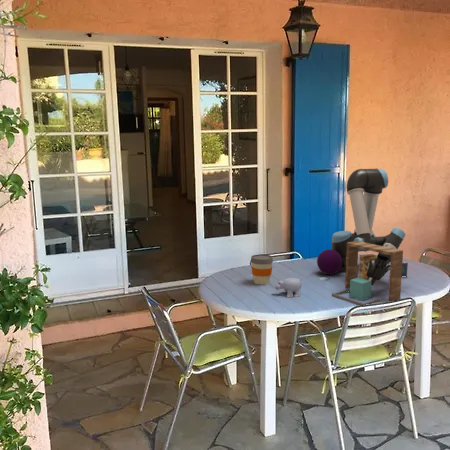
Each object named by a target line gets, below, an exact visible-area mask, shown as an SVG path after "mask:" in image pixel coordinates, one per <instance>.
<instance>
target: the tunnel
mask: <svg viewBox="0 0 450 450" xmlns="http://www.w3.org/2000/svg"><path fill="white" fill-rule="evenodd" d="M358 248H360V249H365V250H369V252H370V251H371V252H375V253H377V254H378V253H383V254H387V255H391V262H390V263H389V265H390V270H389V281H388V282H389V285H388V299H387V300H388V302H389V301H392V302H394V301H393V300H395V301H398V300H400V299H401V294H402V293H401V289H402V278H401V277H402V262H404V261H403V259H404V256H403V255H404V250H403V249H399V248H398V249H393V248H389V247H384V246H379V245H374V244H370V243H365V242H360V241H353V242H348V243H347V254H346V272H345V285H344V288H345V289H350V280H351V279H355V278H358V267H359V265H358V263H359V261H358V260H359V252H358ZM397 299H398V300H397Z"/></svg>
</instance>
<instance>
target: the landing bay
mask: <svg viewBox="0 0 450 450" xmlns="http://www.w3.org/2000/svg"><path fill="white" fill-rule="evenodd" d="M348 291H350V288H345V289H343V290H339V291H336V292H333V293H331V296H332V297H333V298H336V299H340V300H343V301H346V302H349V303H352V304H355V305H357V306H360V305H366V304H370V305H372V303H373V304H376V303H378V302H380V301H381V298H379V297H377V298H375V299H372V300H368V301H366V302H361V301H358V300H355V299H352V298H348V297H346V296H342V295H343V294H346V293H349V292H348ZM339 294H340V295H339Z"/></svg>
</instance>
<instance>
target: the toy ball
mask: <svg viewBox="0 0 450 450" xmlns="http://www.w3.org/2000/svg"><path fill="white" fill-rule="evenodd" d="M316 265H317V267H318V269H319V270H320V271H321V272H322V273H324V274H326V275H334V274H337V273H338V271H339V270H340V268H341V267H342V258H341V256H340V254H339V253H338V252H337V251H335V250H332V248H330V249H325V250H323V251H321V252H320V253H319V255H318V256H317V260H316Z"/></svg>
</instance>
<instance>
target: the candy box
mask: <svg viewBox="0 0 450 450" xmlns="http://www.w3.org/2000/svg"><path fill="white" fill-rule="evenodd" d="M377 255H378V254H377ZM377 255H376V254H374V253H369V254H359V261H358V263H359V265H358V277H359V278H363V279H366V280H367V279H368V277H367V275H366V274H367V271H368V268H369V264H370V262H369V261H370V260H371V261H374V260H375V259H376V258H377ZM374 265H375V263H374ZM373 268H374V266H373Z"/></svg>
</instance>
